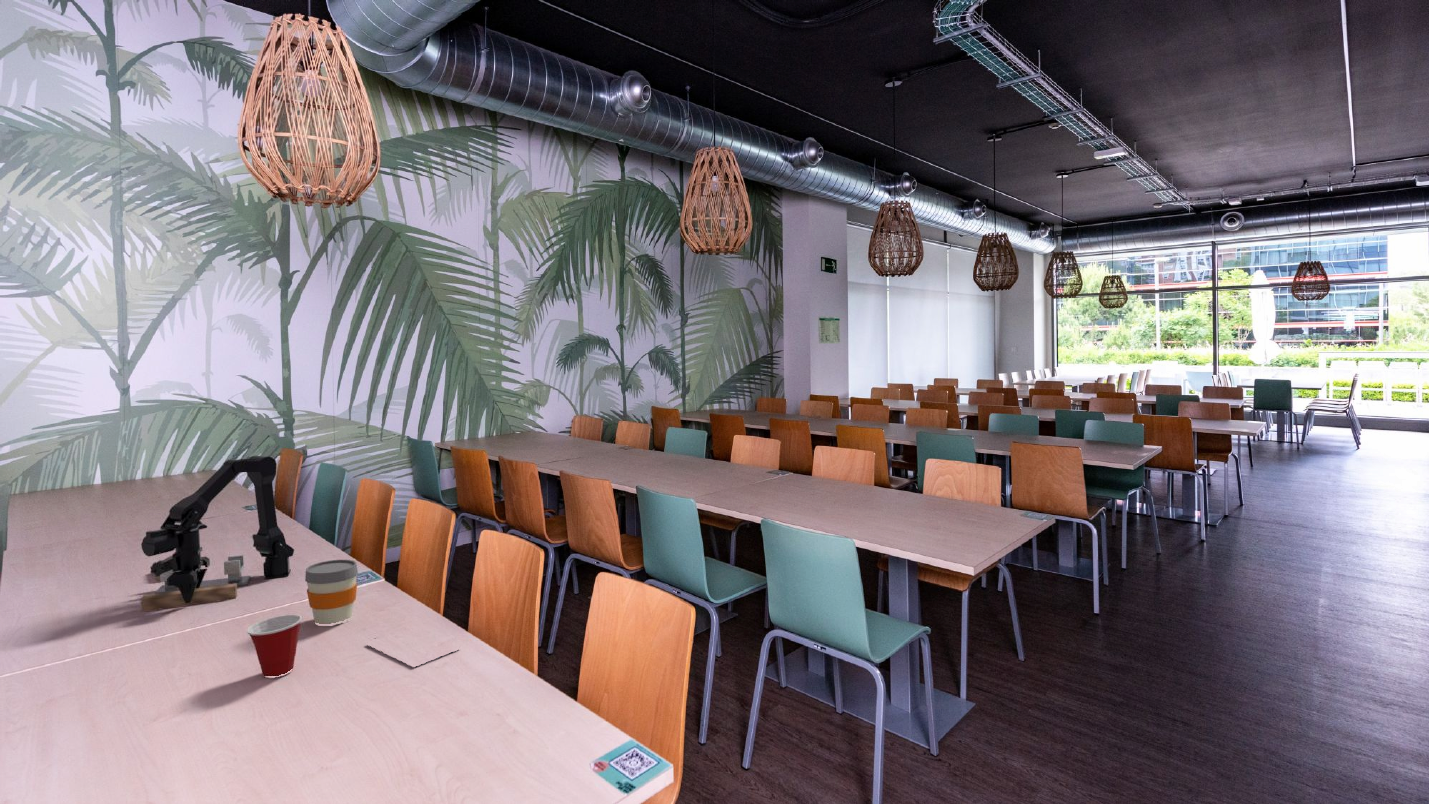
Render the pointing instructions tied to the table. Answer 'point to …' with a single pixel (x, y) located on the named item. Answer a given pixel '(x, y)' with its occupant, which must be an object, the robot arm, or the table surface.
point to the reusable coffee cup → (332, 590)
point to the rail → (198, 597)
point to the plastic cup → (276, 643)
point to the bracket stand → (230, 569)
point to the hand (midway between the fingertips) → (190, 599)
